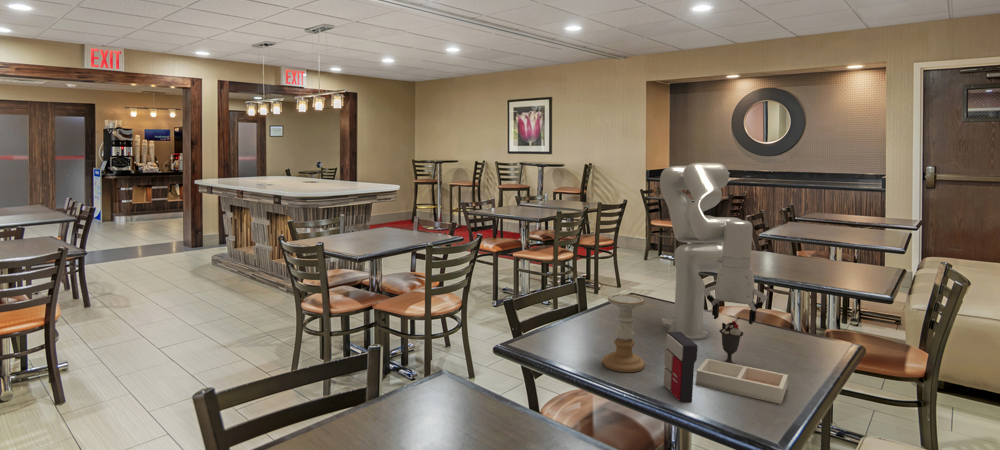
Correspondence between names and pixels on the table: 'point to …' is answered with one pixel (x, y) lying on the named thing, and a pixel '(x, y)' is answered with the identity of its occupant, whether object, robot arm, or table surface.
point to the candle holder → (624, 336)
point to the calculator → (680, 365)
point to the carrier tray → (742, 380)
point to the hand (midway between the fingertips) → (733, 320)
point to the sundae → (730, 339)
